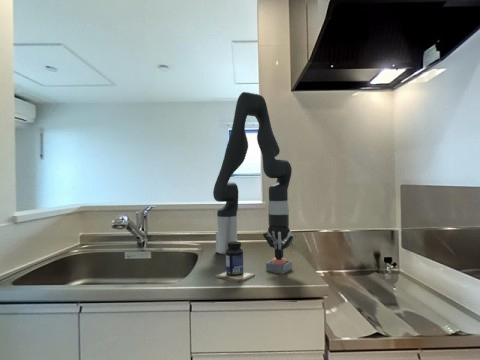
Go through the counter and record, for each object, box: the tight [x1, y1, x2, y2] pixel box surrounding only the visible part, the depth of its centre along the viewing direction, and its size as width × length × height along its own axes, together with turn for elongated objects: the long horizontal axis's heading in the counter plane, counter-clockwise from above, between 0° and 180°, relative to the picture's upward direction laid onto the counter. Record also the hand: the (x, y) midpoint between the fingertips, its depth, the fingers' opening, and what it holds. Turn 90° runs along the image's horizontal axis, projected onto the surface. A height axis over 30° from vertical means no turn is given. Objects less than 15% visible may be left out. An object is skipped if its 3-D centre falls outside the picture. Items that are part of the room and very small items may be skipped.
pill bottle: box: [225, 240, 244, 276], centre depth 103 cm, size 6×6×11 cm
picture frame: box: [214, 270, 256, 284], centre depth 103 cm, size 11×9×1 cm
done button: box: [271, 257, 287, 265], centre depth 110 cm, size 5×5×4 cm
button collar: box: [265, 259, 293, 275], centre depth 110 cm, size 7×7×3 cm
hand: (279, 259), depth 110 cm, fingers closed
